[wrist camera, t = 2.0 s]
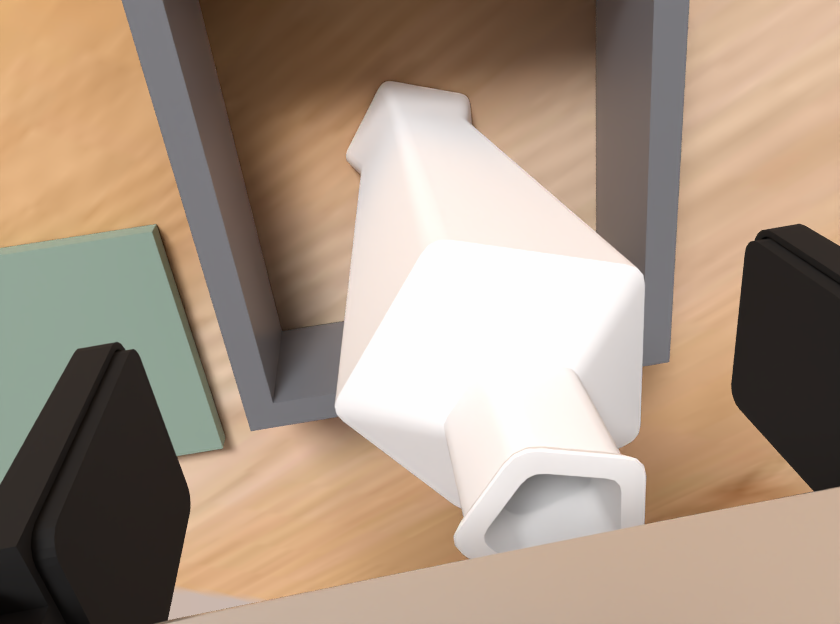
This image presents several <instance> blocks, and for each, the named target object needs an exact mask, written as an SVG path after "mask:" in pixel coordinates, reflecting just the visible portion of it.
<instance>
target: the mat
mask: <svg viewBox="0 0 840 624" xmlns="http://www.w3.org/2000/svg"><path fill="white" fill-rule="evenodd" d="M114 342H119V343H121V344H122V346H123V347H124V348H125V350H130V349H135V350H136V351H137V352H138V354H139V356H140V358H141V361H142V363H143V366H144V369H145V371H146V374H147V377H148V380H149V382H150V385H151V388H152V390H153V393H154V396H155V399H156V401H157V404H158V407H159V410H160V412H161V415H162V418H163V420H164V423H165V426H166V429H167V431H168V434H169V437H170V439H171V442H172V445H173V448H174V450H175V453H176V456H180V455H186V454H193V453H199V452H205V451H211V450H217V449H223V446H224V441H225V435H224V432H223V429H222V426H221V423H220V419H219V416H218V413H217V410H216V407H215V404H214V401H213V398H212V395H211V392H210V389H209V385H208V382H207V379H206V376H205V373H204V370H203V367H202V364H201V361H200V358H199V355H198V351H197V348H196V345H195V342H194V339H193V336H192V333H191V330H190V327H189V324H188V321H187V317H186V314H185V311H184V308H183V305H182V302H181V299H180V296H179V293H178V290H177V286H176V283H175V280H174V277H173V274H172V271H171V268H170V265H169V262H168V259H167V256H166V252H165V249H164V246H163V243H162V240H161V237H160V234H159V231H158V228H157V225H156V224H154V225H148V226H141V227H135V228H128V229H122V230H115V231H109V232H102V233H96V234H89V235H83V236H76V237H70V238H63V239H57V240H50V241H44V242H37V243H31V244H24V245H18V246H11V247H5V248H0V484H1V482H2V480H3V478H4V477H5V475H6V473H7V471H8V469H9V468H10V466H11V464H12V462H13V461H14V459H15V457H16V455H17V453H18V452H19V450H20V448H21V446H22V445H23V443H24V441H25V439H26V437H27V436H28V434H29V432H30V430H31V428H32V427H33V425H34V423H35V421H36V420H37V418H38V416H39V414H40V412H41V411H42V409H43V407H44V405H45V404H46V402H47V400H48V398H49V396H50V395H51V393H52V391H53V389H54V387H55V386H56V384H57V382H58V380H59V379H60V377H61V375H62V373H63V371H64V370H65V368H66V366H67V364H68V363H69V361H70V359H71V357H72V355H73V354H74V352H75V351H76V350H77V349H79V348H85V347H91V346H96V345H102V344H108V343H114Z"/></svg>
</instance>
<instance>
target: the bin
mask: <svg viewBox="0 0 840 624" xmlns="http://www.w3.org/2000/svg"><path fill="white" fill-rule="evenodd" d="M122 3H123V6H124V10H125V13H126V16H127V20H128V23H129V26H130V30H131V33H132V36H133V40H134V43H135V46H136V50H137V53H138V56H139V60H140V63H141V66H142V70H143V73H144V76H145V80H146V83H147V86H148V90H149V93H150V96H151V100H152V103H153V106H154V110H155V113H156V116H157V120H158V123H159V126H160V130H161V133H162V136H163V140H164V143H165V146H166V150H167V153H168V156H169V160H170V163H171V166H172V170H173V173H174V176H175V180H176V183H177V187H178V190H179V193H180V197H181V200H182V203H183V207H184V210H185V213H186V217H187V220H188V223H189V227H190V230H191V233H192V237H193V240H194V243H195V247H196V250H197V253H198V257H199V260H200V263H201V267H202V270H203V273H204V277H205V280H206V283H207V287H208V290H209V293H210V297H211V300H212V303H213V307H214V310H215V313H216V317H217V320H218V323H219V327H220V330H221V333H222V337H223V340H224V343H225V347H226V350H227V353H228V357H229V360H230V363H231V367H232V370H233V373H234V377H235V380H236V383H237V387H238V390H239V393H240V397H241V400H242V403H243V407H244V410H245V413H246V417H247V420H248V423H249V427H250V430H251V431H255V430H261V429H267V428H273V427H279V426H285V425H291V424H297V423H303V422H309V421H315V420H321V419H328V418H334V417H339V416H338V415H337V414H336V410H335V399H336V390H337V381H338V373H339V364H340V355H341V346H342V337H343V328H344V321H342V322H336V323H330V324H323V325H317V326H311V327H305V328H298V329H292V330H286V331H282V330H281V326H280V322H279V318H278V314H277V310H276V306H275V302H274V298H273V294H272V290H271V286H270V282H269V278H268V274H267V270H266V266H265V262H264V258H263V254H262V250H261V246H260V242H259V238H258V234H257V230H256V226H255V222H254V218H253V214H252V210H251V206H250V202H249V199H248V195H247V191H246V187H245V183H244V179H243V175H242V171H241V167H240V163H239V159H238V155H237V151H236V147H235V143H234V139H233V135H232V131H231V127H230V123H229V119H228V115H227V111H226V107H225V103H224V99H223V95H222V91H221V87H220V83H219V79H218V75H217V71H216V67H215V63H214V59H213V55H212V51H211V47H210V43H209V40H208V36H207V32H206V28H205V24H204V20H203V16H202V12H201V8H200V4H199V0H122ZM688 15H689V0H596V233H597V234H599V235H600V236H601V237H602V238H603V239H604V240H606V241H607V242H608V243H609V244H610V245H611V246H612V247H614V248H615V249H616V250H617V251H618V252H619V253H621V254H622V255H623V256H624V257H625V258H626V259H628V260H629V261H630V262H631V263H632V264H633V265H634V266H636V267H637V268H638V269H639V270H640V272H641V273H642V274H643V276H644V282H645V299H644V330H643V361H642V366H649V365H655V364H661V363H667V362H669V358H670V340H671V322H672V304H673V286H674V268H675V250H676V232H677V214H678V196H679V178H680V160H681V142H682V124H683V106H684V88H685V69H686V51H687V33H688Z"/></svg>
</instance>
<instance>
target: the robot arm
mask: <svg viewBox="0 0 840 624" xmlns="http://www.w3.org/2000/svg"><path fill="white" fill-rule="evenodd" d="M731 389H732V395H733V398H734V401H735V403H736V405H737V406H738V408H739V409H740V410H741V411H742V412H743V414H744V415H745V416H746V417H747V418H748V419H749V420H750V421H751V422H752V424H753V425H754V426H755V427H756V428H757V429H758V430H759V431H760V432H761V433H762V435H763V436H764V437H765V438H766V439H767V440H768V441H769V442H770V443H771V444H772V446H773V447H774V448H775V449H776V450H777V451H778V452H779V453H780V454H781V456H782V457H783V458H784V459H785V460H786V461H787V462H788V463H789V464H790V465H791V467H792V468H793V469H794V470H795V471H796V472H797V473H798V474H799V475H800V477H801V478H802V479H803V480H804V481H805V482H806V483H807V484H808V485H809V486H810V488H811V489H812V490H813V491H814V492H809V493H804V494H798V495H793V496H788V497H783V498H778V499H773V500H767V501H762V502H757V503H752V504H747V505H742V506H737V507H731V508H726V509H721V510H716V511H711V512H706V513H700V514H695V515H690V516H685V517H680V518H675V519H670V520H665V521H659V522H654V523H649V524H644V525H639V526H634V527H629V528H624V529H619V530H614V531H608V532H603V533H598V534H593V535H588V536H583V537H578V538H573V539H568V540H563V541H558V542H553V543H548V544H543V545H538V546H533V547H528V548H523V549H518V550H513V551H508V552H503V553H498V554H493V555H488V556H483V557H478V558H473V559H468V560H463V561H458V562H453V563H448V564H443V565H438V566H433V567H428V568H423V569H418V570H413V571H408V572H403V573H398V574H393V575H388V576H383V577H378V578H374V579H369V580H364V581H359V582H354V583H349V584H344V585H340V586H335V587H330V588H325V589H320V590H315V591H310V592H305V593H300V594H295V595H290V596H285V597H280V598H276V599H271V600H266V601H261V602H256V603H251V604H246V605H241V606H236V607H231V608H226V609H221V610H216V611H211V612H207V613H202V614H197V615H192V616H187V617H182V618H177V619H172V620H168V616H169V611H170V606H171V602H172V597H173V592H174V587H175V582H176V577H177V572H178V568H179V563H180V558H181V553H182V548H183V543H184V538H185V534H186V529H187V524H188V519H189V514H190V494H189V489H188V486H187V483H186V480H185V477H184V475H183V472H182V469H181V467H180V464H179V461H178V458H177V456H176V453H175V450H174V448H173V445H172V442H171V439H170V437H169V434H168V431H167V429H166V426H165V423H164V420H163V418H162V415H161V412H160V410H159V407H158V404H157V401H156V399H155V396H154V393H153V390H152V388H151V385H150V382H149V380H148V377H147V374H146V371H145V369H144V366H143V363H142V361H141V358H140V356H139V354H138V352H137V351H136V350H135V349H130V350H125V348H124V347H123V346H122V344H121V343H119V342H114V343H108V344H102V345H96V346H91V347H85V348H79V349H77V350H76V351H75V352H74V354H73V355H72V357H71V359H70V361H69V363H68V364H67V366H66V368H65V370H64V371H63V373H62V375H61V377H60V379H59V380H58V382H57V384H56V386H55V387H54V389H53V391H52V393H51V395H50V396H49V398H48V400H47V402H46V404H45V405H44V407H43V409H42V411H41V412H40V414H39V416H38V418H37V420H36V421H35V423H34V425H33V427H32V428H31V430H30V432H29V434H28V436H27V437H26V439H25V441H24V443H23V445H22V446H21V448H20V450H19V452H18V453H17V455H16V457H15V459H14V461H13V462H12V464H11V466H10V468H9V469H8V471H7V473H6V475H5V477H4V478H3V480H2V482H1V484H0V624H840V246H839V245H837V244H835V243H834V242H832V241H830V240H828V239H827V238H825V237H823V236H822V235H820V234H818V233H817V232H815V231H813V230H811V229H810V228H808V227H806V226H805V225H802V224H795V225H790V226H784V227H778V228H772V229H767V230H762V231H760V232H759V233H758V234H757V236H756V238H755V241H751V242H750V243H749V244H748V245H747V247H746V250H745V257H744V267H743V276H742V286H741V296H740V305H739V315H738V325H737V335H736V344H735V354H734V364H733V373H732V383H731Z"/></svg>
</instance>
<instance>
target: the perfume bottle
mask: <svg viewBox="0 0 840 624" xmlns="http://www.w3.org/2000/svg"><path fill="white" fill-rule="evenodd" d="M346 159H347V161H348V162H349V164H350V165H351V166H352V167H353V168H354V169H355V170H356V171H357V172H358V173H359V174H361V178H360V187H359V196H358V204H357V213H356V222H355V231H354V240H353V249H352V258H351V266H350V275H349V284H348V293H347V302H346V311H345V319H344V328H343V337H342V346H341V355H340V364H339V373H338V381H337V390H336V399H335V410H336V414H337V415H338V416H339V417H340V418H341V420H342V421H343V422H345V423H346V424H347V425H349V426H350V427H351V428H353V429H354V430H355V431H357V432H358V433H359V434H361V435H362V436H363V437H365V438H366V439H367V440H369V441H370V442H371V443H373V444H374V445H375V446H377V447H378V448H379V449H381V450H382V451H383V452H385V453H386V454H387V455H389V456H390V457H391V458H392V459H394V460H395V461H396V462H398V463H399V464H400V465H402V466H403V467H404V468H406V469H407V470H408V471H410V472H411V473H412V474H414V475H415V476H416V477H418V478H419V479H420V480H422V481H423V482H424V483H426V484H427V485H428V486H430V487H431V488H432V489H434V490H435V491H436V492H438V493H439V494H440V495H442V496H443V497H444V498H446V499H447V500H448V501H450V502H451V503H452V504H454V505H455V506H457V507H459V508H461V509H462V513H463V519H462V520H461V522H460V524H459V526H458V528H457V530H456V532H455V534H454V543H455V546H456V547H457V548H458V549H459V550H460V552H461V553H462V554H463V555H465V556H466V557H467V558H469V559H473V558H478V557H483V556H488V555H493V554H498V553H503V552H508V551H513V550H518V549H523V548H528V547H533V546H538V545H543V544H548V543H553V542H558V541H563V540H568V539H573V538H578V537H583V536H588V535H593V534H598V533H603V532H608V531H614V530H619V529H624V528H629V527H634V526H639V525H644V521H645V496H646V473H645V467H644V465H643V464H642V463H641V462H640V461H639V460H638V459H636V458H633V457H630V456H626V455H622V454H621V453H620V451H619V448H621V447H623V446H625V445H627V444H628V443H630V442H632V441H633V440H634V439H635V438H636V436H637V435H638V434H639V429H640V423H641V392H642V361H643V330H644V299H645V282H644V276H643V274H642V273H641V272H640V270H639V269H638V268H637V267H636V266H634V265H633V264H632V263H631V262H630V261H629V260H628V259H626V258H625V257H624V256H623V255H622V254H621V253H619V252H618V251H617V250H616V249H615V248H614V247H612V246H611V245H610V244H609V243H608V242H607V241H606V240H604V239H603V238H602V237H601V236H600V235H599V234H597V233H596V232H595V231H594V230H593V229H592V228H590V227H589V226H588V225H587V224H586V223H585V222H584V221H582V220H581V219H580V218H579V217H578V216H577V215H575V214H574V213H573V212H572V211H571V210H570V209H568V208H567V207H566V206H565V205H564V204H563V203H562V202H560V201H559V200H558V199H557V198H556V197H555V196H553V195H552V194H551V193H550V192H549V191H548V190H546V189H545V188H544V187H543V186H542V185H541V184H540V183H538V182H537V181H536V180H535V179H534V178H533V177H531V176H530V175H529V174H528V173H527V172H526V171H524V170H523V169H522V168H521V167H520V166H519V165H518V164H516V163H515V162H514V161H513V160H512V159H511V158H509V157H508V156H507V155H506V154H505V153H504V152H502V151H501V150H500V149H499V148H498V147H497V146H496V145H494V144H493V143H492V142H491V141H490V140H489V139H487V138H486V137H485V136H484V135H483V134H482V133H480V132H479V131H478V130H477V129H476V128H475V127H473V126H472V119H471V107H470V102H469V99H468V97H467V96H466V95H464V94H461V93H456V92H450V91H445V90H439V89H433V88H428V87H422V86H417V85H411V84H405V83H400V82H394V81H386V82H384V83H382V84H381V86H380V87H379V88H378V90H377V92H376V94H375V96H374V98H373V100H372V102H371V104H370V106H369V108H368V110H367V112H366V114H365V116H364V118H363V120H362V122H361V124H360V126H359V128H358V130H357V132H356V134H355V136H354V138H353V140H352V142H351V144H350V146H349V148H348V150H347V153H346Z"/></svg>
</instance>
